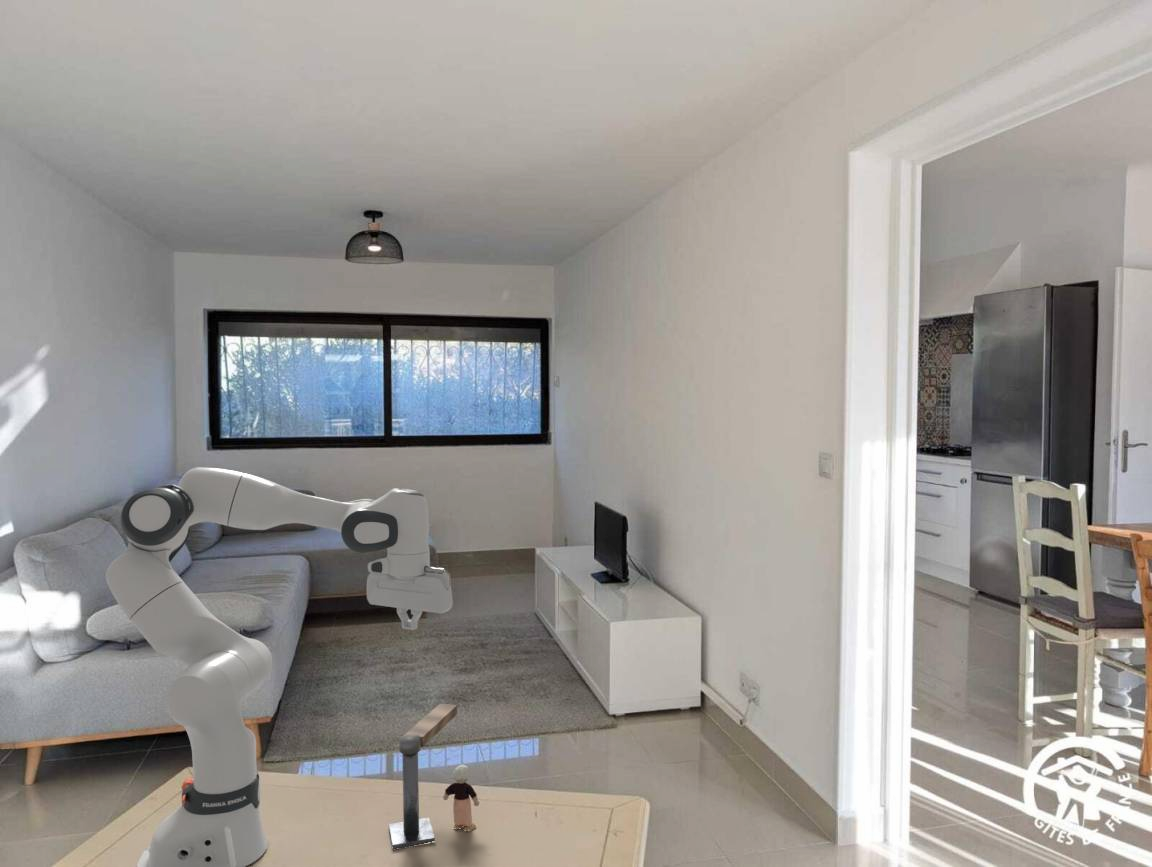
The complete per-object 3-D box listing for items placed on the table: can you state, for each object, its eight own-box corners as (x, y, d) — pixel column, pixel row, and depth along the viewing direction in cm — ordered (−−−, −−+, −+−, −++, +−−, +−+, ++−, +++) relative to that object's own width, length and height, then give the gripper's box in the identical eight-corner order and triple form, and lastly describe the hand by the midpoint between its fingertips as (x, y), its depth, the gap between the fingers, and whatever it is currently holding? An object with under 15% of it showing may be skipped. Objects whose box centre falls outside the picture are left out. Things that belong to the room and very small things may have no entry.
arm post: (392, 849, 157) (391, 763, 156) (388, 828, 165) (387, 746, 164) (434, 842, 160) (433, 757, 159) (428, 822, 167) (427, 740, 166)
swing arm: (414, 755, 159) (414, 743, 159) (396, 753, 160) (395, 741, 160) (457, 715, 179) (457, 704, 179) (440, 713, 180) (440, 702, 180)
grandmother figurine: (482, 823, 167) (481, 762, 166) (478, 833, 163) (477, 770, 162) (445, 821, 168) (444, 760, 167) (440, 831, 164) (439, 769, 163)
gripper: (458, 565, 173) (459, 630, 174) (380, 558, 182) (381, 619, 182) (441, 571, 167) (442, 638, 168) (361, 563, 176) (362, 627, 177)
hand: (409, 628), depth 175 cm, fingers closed
